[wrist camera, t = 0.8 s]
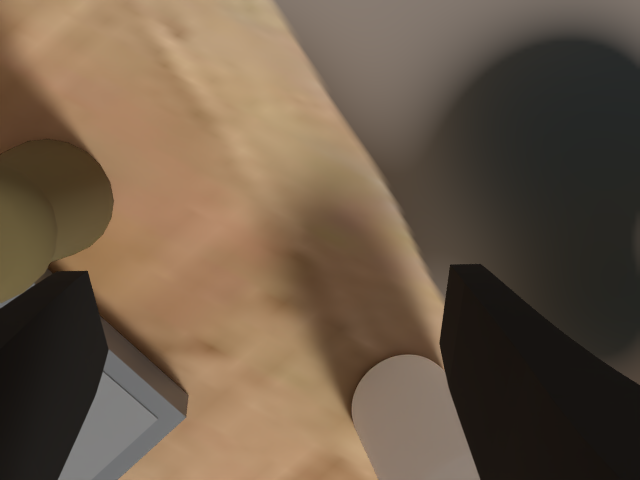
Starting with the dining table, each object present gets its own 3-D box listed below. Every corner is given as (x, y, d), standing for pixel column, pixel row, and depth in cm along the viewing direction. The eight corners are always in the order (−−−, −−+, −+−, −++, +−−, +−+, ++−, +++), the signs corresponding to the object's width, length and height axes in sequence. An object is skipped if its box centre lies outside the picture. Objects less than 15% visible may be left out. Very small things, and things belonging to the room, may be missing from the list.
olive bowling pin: (-35, 158, 27) (-198, 177, 16) (88, 124, 28) (10, 121, 17) (14, 272, 28) (-106, 357, 18) (130, 237, 29) (82, 299, 18)
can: (328, 396, 33) (388, 541, 21) (413, 330, 33) (519, 438, 21) (387, 468, 35) (473, 637, 23) (468, 404, 35) (594, 541, 23)
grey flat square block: (44, 525, 31) (30, 560, 29) (-122, 402, 28) (-155, 428, 26) (188, 395, 31) (186, 418, 29) (36, 258, 28) (19, 271, 26)
